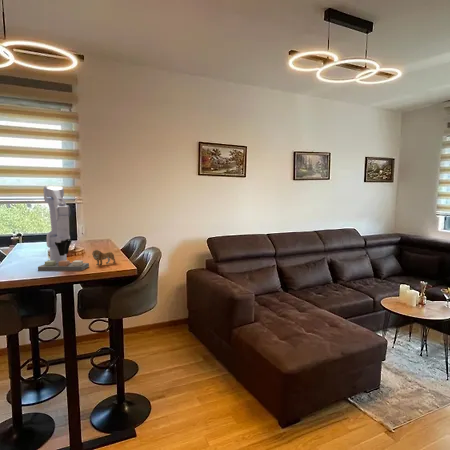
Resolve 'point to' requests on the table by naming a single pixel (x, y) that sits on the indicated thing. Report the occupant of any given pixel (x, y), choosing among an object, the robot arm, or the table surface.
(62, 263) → the terracotta button
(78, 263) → the cream button
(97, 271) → the table surface
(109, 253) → the lion figurine
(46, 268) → the button panel
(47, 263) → the sage button
